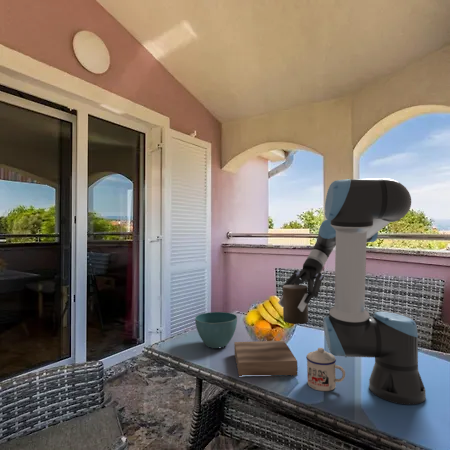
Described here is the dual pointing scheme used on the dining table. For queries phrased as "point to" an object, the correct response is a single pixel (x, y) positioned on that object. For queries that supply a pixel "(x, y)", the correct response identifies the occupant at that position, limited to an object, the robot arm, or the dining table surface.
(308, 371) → the teacup with lid
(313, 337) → the dining table surface
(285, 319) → the pillar candle
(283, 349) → the block
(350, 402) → the dining table surface
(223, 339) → the plant pot
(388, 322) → the robot arm
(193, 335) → the dining table surface
